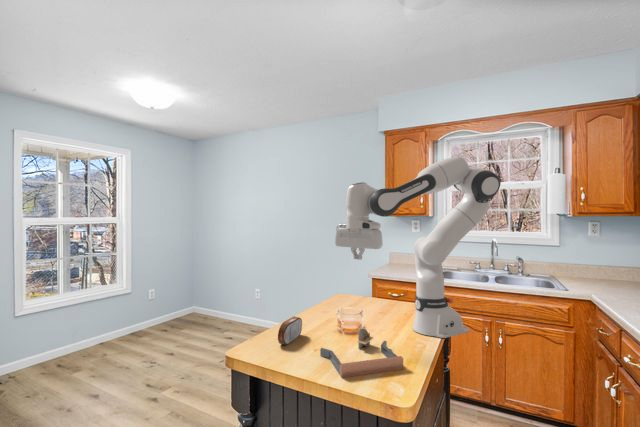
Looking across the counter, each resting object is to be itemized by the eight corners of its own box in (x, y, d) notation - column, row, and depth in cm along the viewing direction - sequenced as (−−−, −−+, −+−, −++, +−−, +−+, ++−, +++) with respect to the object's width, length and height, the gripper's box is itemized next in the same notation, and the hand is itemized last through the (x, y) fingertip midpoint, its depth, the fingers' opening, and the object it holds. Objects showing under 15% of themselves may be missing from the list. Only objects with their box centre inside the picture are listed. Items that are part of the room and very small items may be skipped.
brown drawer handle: (385, 347, 119) (385, 337, 119) (409, 368, 103) (409, 357, 103) (319, 355, 113) (319, 345, 113) (334, 378, 96) (334, 367, 96)
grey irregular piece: (373, 347, 120) (373, 326, 120) (365, 353, 115) (365, 332, 115) (365, 345, 122) (365, 325, 122) (356, 351, 116) (356, 330, 116)
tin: (296, 333, 133) (296, 313, 133) (303, 335, 132) (303, 314, 132) (277, 347, 120) (276, 324, 120) (284, 349, 118) (284, 325, 118)
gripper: (331, 223, 132) (332, 258, 132) (375, 224, 119) (376, 262, 119) (341, 223, 137) (341, 256, 137) (384, 224, 124) (384, 260, 124)
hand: (357, 259), depth 128 cm, fingers closed
